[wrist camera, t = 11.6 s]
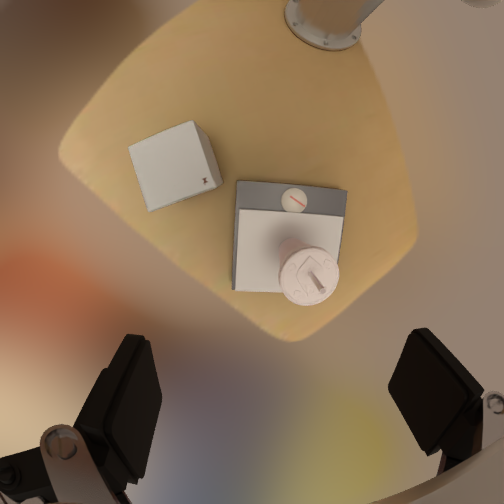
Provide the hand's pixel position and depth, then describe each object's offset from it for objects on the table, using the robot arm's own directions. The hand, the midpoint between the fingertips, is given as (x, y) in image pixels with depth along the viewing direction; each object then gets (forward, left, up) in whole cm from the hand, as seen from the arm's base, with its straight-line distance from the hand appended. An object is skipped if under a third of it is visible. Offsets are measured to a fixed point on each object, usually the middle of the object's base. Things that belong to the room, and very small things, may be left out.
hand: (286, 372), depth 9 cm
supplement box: (-7, -8, -32) cm, 33 cm away
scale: (+2, +6, -31) cm, 32 cm away
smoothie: (+4, +6, -28) cm, 29 cm away
